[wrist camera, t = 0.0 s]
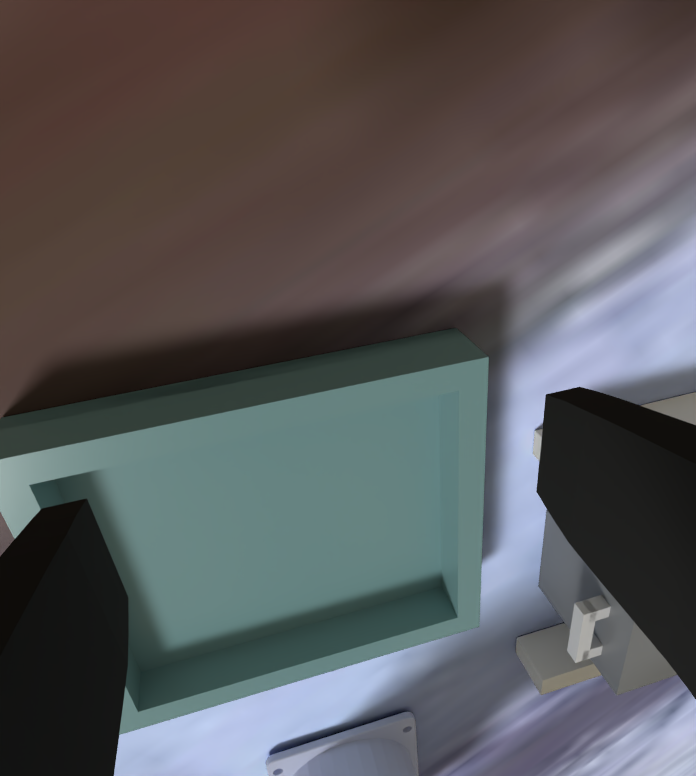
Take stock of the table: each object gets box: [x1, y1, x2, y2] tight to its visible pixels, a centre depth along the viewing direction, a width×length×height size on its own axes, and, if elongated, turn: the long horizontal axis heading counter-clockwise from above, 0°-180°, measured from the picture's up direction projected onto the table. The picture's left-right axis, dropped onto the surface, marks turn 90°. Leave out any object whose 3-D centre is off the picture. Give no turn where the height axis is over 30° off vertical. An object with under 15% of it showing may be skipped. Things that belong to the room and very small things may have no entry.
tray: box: [0, 328, 489, 735], centre depth 21 cm, size 13×15×2 cm
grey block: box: [538, 510, 677, 695], centre depth 25 cm, size 5×9×6 cm, turn 96°
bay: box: [516, 392, 696, 695], centre depth 26 cm, size 14×11×2 cm
